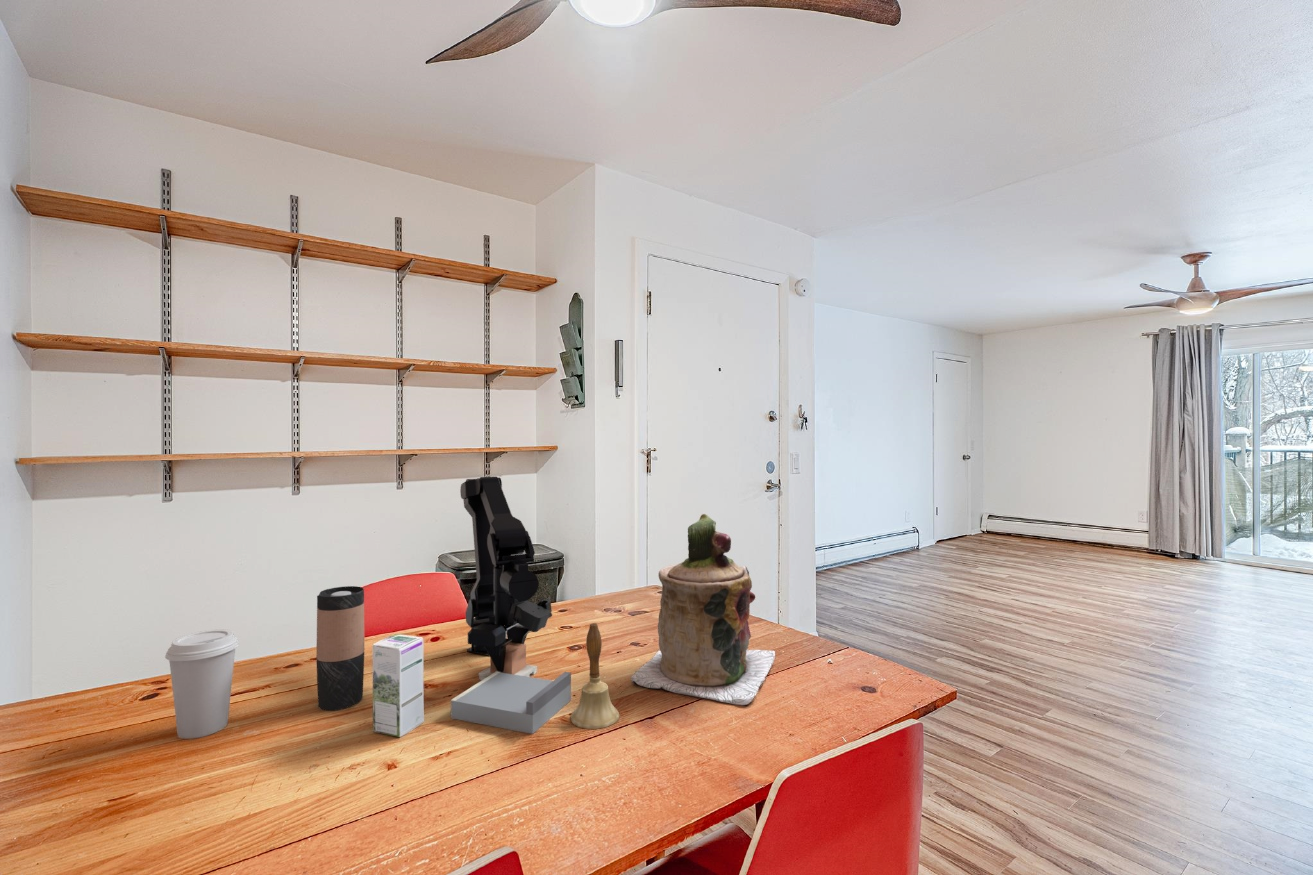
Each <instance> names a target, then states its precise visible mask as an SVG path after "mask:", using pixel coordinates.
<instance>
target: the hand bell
mask: <svg viewBox="0 0 1313 875" xmlns="http://www.w3.org/2000/svg"><path fill="white" fill-rule="evenodd" d="M586 652H587V655H588V659H589V681H588V682H585V683H584V684H583V685H582V687H581V695H580V700H579V703H578V705H577V706H576V708H575V709H574V710H573V711H572V713H571V714H570V721H571V724H573V725H574V726H575V727H578V728H580V729H586V730H598V729H605V728H608V727H610V726H613V725H614V724H616V723H617V722H618V721H619V719H620V712H619V711H618V710H619V709H617V708H616V706H614V705H613V704H612V701H611V698H610V694H609V692H610V691H609V686H608V684H607V683H606V682H604V681H601V677H600V676H601V675H600V657H601V652H602V636H601V632H600V630H599V626H598V624H597V623H595V622H594V623H593V622H592V623H589V627H588V632H587V635H586Z"/></svg>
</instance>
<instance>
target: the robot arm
mask: <svg viewBox="0 0 1313 875" xmlns="http://www.w3.org/2000/svg"><path fill="white" fill-rule="evenodd" d="M460 498H461V499H462V500H463V507H464V509H465V510H466V512H467V513H468V514H469V515H470V516H471V520H472V533H473V546H474V547H473V549H474V559H475V560H474V561H475V571H476V581H475V582H474V585H473V587H472V589H471V591H470V598H469V600H468V604H467V607H466V610H465V623H466V624H467V625H468V627H469V629H470V628H471V629H470V630H469V631H468V632H467V645H471V647H469V648H468V649H466V652H467V653H472V654H478V655H484V656H489V658H491V659H492V661H493V663H494V665H495V667H496V669H497V671H498V672H503V670H504V664H505V652H506V646H507V645H508V644H509V642H512V643H519V644H525V641H526V639H527V636H528V634H529V633H530V632H532V633H537V632H539V631H540V630H542V629H545V628H546V626H547V622H548V620H549V618H551V617H552V616H553V613H552V603H551V600H548V599H547V598H544V599H541V600H540V601H539V602H537V601H535V602H532V601H531V600H530V599H532V598H533V596H535V595H536V593H537V591H538V589H539V582H540V581H539V580H538V576H537V575H536V573H534V572H533V571H532V570H531V569H529V563H534V562H535V554H536V552H535V548H534V544H533V542H532V539H531V536H530V534H529V532H528V530H526V527H525V525H524V524H523V522H522V521H521V520H520V519H518V518H516V517H515V516H513V514H512V512H511V509H510V506H509V503H508V502H507V499H506V496H505V493H504V491H503V482H502V478H501V477H498V476H496V475H495V476H480V477H479V478H478V477H477V478H467V479H465V481H464V482H462V483H461V484H460ZM524 552H525V553H524Z"/></svg>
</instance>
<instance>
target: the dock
mask: <svg viewBox="0 0 1313 875" xmlns="http://www.w3.org/2000/svg"><path fill="white" fill-rule="evenodd" d="M571 701H572V672H569V671H564V672H563V673H561V674H560V675H559V676H558V677H556V678H555V679H554V680H550V679H544V678H538V677H533V676H532V677H531V676H529V677H526V676H520V675H513V674H507V673H500V672H497V671H496V672H494V673H493V674H491V675H490V676H488V677H487V678H485V679H483V680H479V682H477V683H476V684H474V685H472V686H471V687H470V688H468V689H466V690H465V691H463V692H461V693H460V694H458V695H456V696H455V697H453V698H452V699H450V719H452V720H453V719H454V720H459V721H462V722H469V723H474V724H478V725H479V724H481V725H484V726H489V727H494V728H500V729H505V730H509V731H510V730H511V731H515V732H521V733H526V734H531V735H534V733H536V732H537V731H538V730H539V729H540V728H541V727H542V726H543V725H545V724H546V723H547V722H548V721H549V720H550V719H551V718H553V717H554V716H555V715H556V714H557V713H558V712H559V711H560V710H562V709H563V708H564V707H565V706H566V705H567V704H568V703H570V702H571Z"/></svg>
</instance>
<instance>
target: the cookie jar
mask: <svg viewBox="0 0 1313 875" xmlns="http://www.w3.org/2000/svg"><path fill="white" fill-rule="evenodd" d="M716 524H717V522H716V521H715V520H713V519H712V518H711V517H710V516H708V514H706V513H702V514H701V515H700V517H699V520H697V521H696V522H694V523H692V524H691V525H689V526H688V527H687V541H688V542H687V543H688V544H687V545H688V546H687V550H688V557H687V558H684V560H683V561H682V562H680V563H678V564H669V565H667V566H665V567H663V568H661V569H660V570H659V571H658V579H659V581H660V583H661V586H662V587H661V596H660V597H661V598H660V609H659V613H658V621H657V634H658V648H659V650H658V651H657V652H656V653H655V654H654V655H653V657H652V658H650V660H649V661H647V662H646V663H645V664H644V663H643V665H642V666H640V667H639V668H638V670H637V671H636V670H635V672H634V673H633V674H632V675H631V676H630V680H631V682H632V684H633V685H634V684H635V683H636V684H637V685H638V686H641V687H645V688H647V689H648V688H649V689H662V690H665V691H668V692H671V693H673V694H674V693H675V694H679V695H686V696H690V697H695V698H700V699H706V700H712V701H717V702H721V703H725V704H730V705H738V706H746V705H749V704H750V703H751V702H752V700H754V698H755V697H756V695H757V694H758V691H759V689H760V687H761V685H762V684H763V683H764V682H765V679H766V678H767V675H768V673H769V671H770V669H771V668H772V666H773V664H774V663H775V662H774V661H775V658H776V652H775V650H769V649H768V650H766V649H748V647H749V645H750V644H749V643H750V639H751V638H752V635H751V631H750V625H749V621H748V620H749V619H750V612H751V611H750V604H752V603H753V602H754V601H755V600H756V594H755V593H754V592H752V591H751V590H752V588H753V582H752V579H751V577H750V571H749V569H748V568H747V566H746V565H743V566H738V564H736V563H735V561H734V559H731V558H729V557H727V555H726V554H727V553H728V552H729V553H730V550H731V549H732V548H731V547H732V539H731V537H730V535H729V534H727V533H724V532H720V531H717V530H716V526H717V525H716Z"/></svg>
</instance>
